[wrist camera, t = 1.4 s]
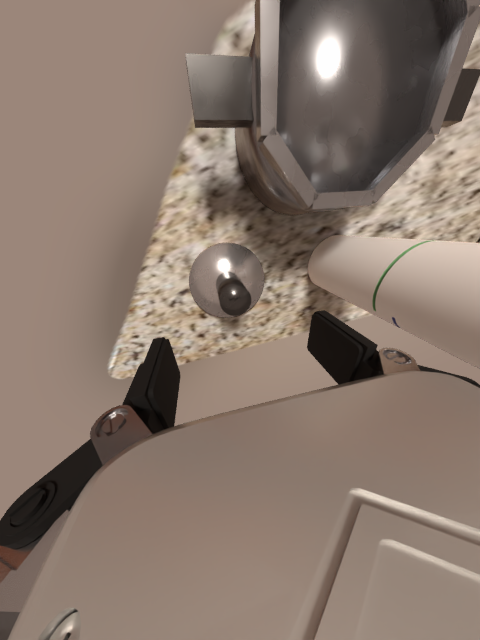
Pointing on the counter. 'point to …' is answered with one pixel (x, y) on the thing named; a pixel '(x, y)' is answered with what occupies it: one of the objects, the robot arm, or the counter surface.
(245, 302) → the lid
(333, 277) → the cylindrical container
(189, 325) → the counter surface
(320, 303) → the counter surface
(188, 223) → the counter surface
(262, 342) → the counter surface
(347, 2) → the pot
